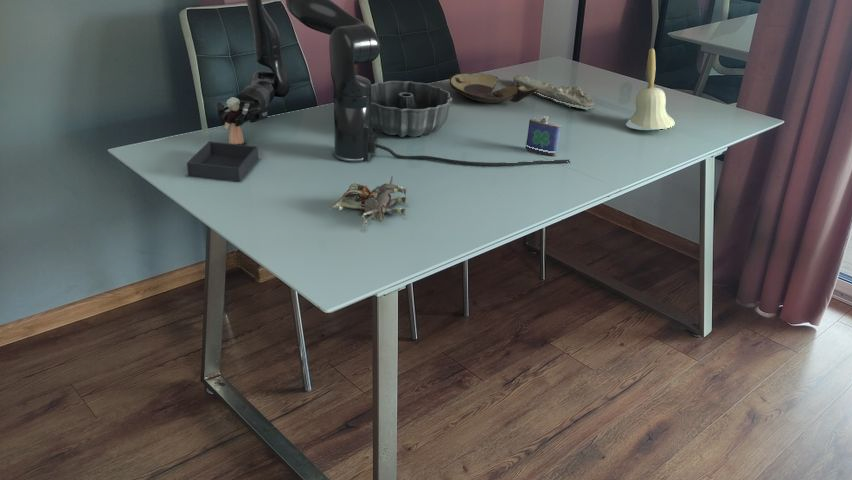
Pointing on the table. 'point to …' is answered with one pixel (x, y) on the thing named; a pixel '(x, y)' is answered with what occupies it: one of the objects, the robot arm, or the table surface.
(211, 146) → the pan
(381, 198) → the figurine
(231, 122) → the grandmother figurine
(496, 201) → the table surface
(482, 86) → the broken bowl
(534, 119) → the flask
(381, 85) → the bundt pan
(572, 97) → the elongated rock
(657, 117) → the handbell
